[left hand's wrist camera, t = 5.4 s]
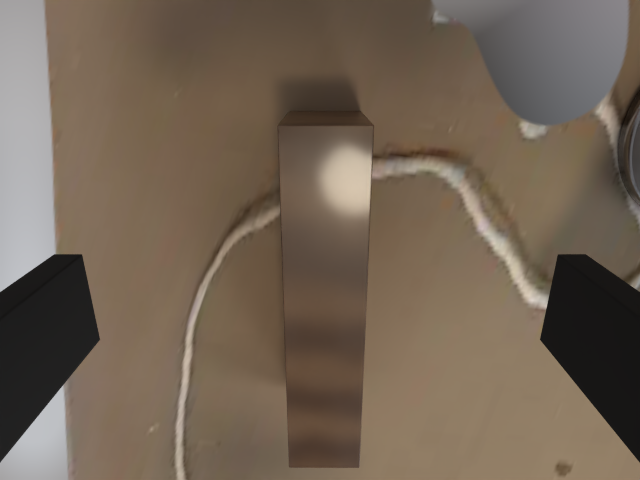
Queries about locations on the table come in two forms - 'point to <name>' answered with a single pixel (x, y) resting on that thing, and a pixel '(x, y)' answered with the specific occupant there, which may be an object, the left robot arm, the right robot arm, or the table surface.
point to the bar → (325, 280)
